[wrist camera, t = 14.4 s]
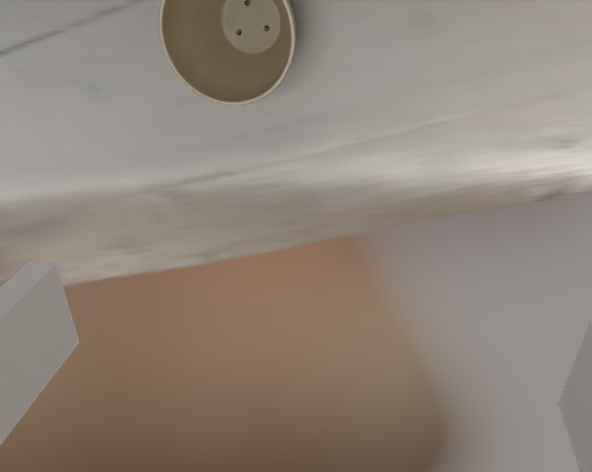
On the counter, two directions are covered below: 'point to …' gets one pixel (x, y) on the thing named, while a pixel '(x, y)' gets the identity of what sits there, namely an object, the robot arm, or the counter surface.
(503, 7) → the counter surface
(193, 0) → the flower pot
